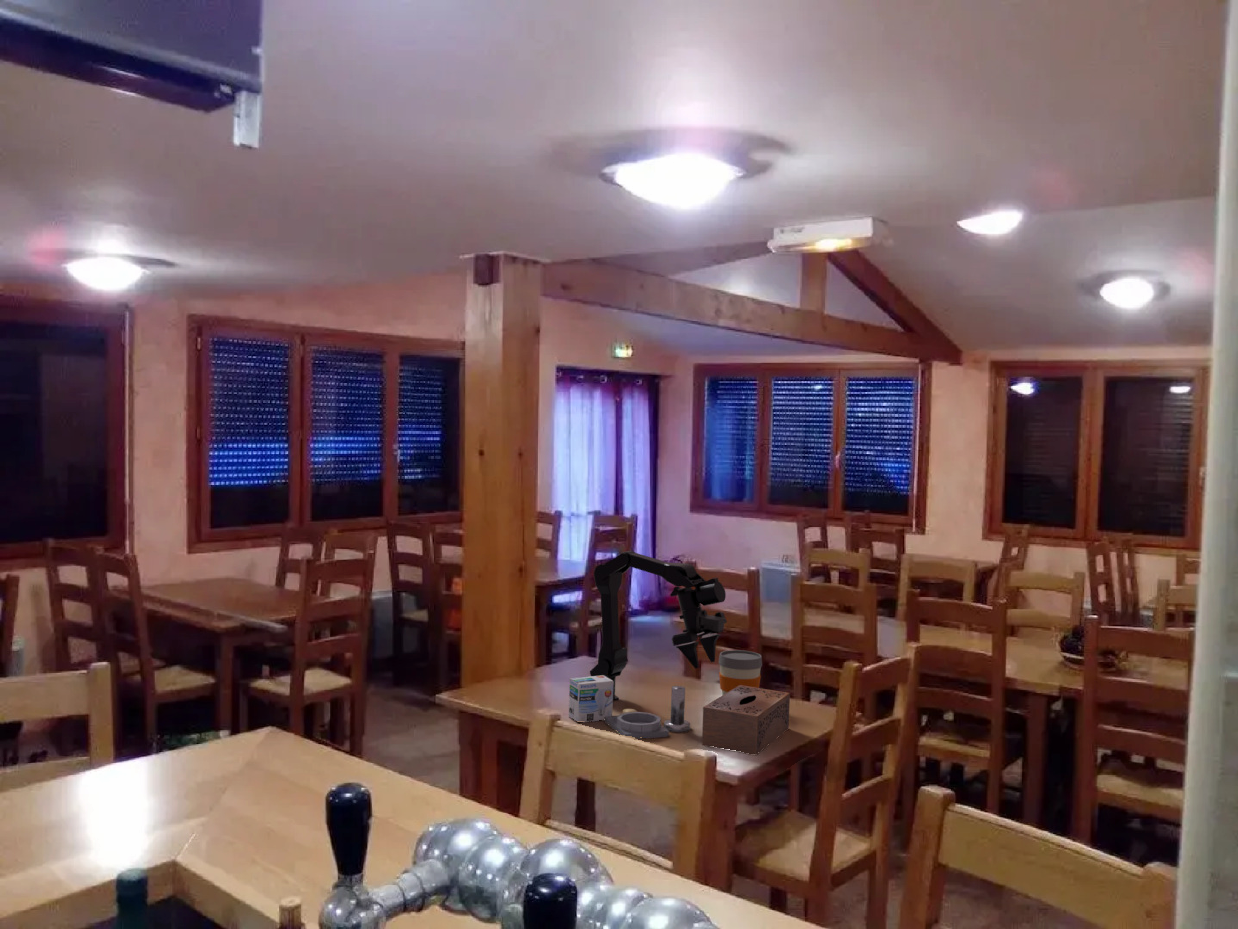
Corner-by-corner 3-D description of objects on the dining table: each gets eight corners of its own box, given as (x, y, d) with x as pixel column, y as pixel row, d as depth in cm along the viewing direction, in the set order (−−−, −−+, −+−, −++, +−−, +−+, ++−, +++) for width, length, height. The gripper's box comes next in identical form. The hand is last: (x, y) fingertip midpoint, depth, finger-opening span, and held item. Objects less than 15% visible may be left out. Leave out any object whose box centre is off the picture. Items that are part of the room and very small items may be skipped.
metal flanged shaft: (659, 725, 271) (661, 685, 270) (683, 723, 273) (685, 683, 273) (670, 733, 264) (671, 692, 264) (694, 731, 267) (695, 690, 266)
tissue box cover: (738, 721, 278) (739, 685, 278) (788, 729, 272) (789, 693, 271) (701, 746, 256) (703, 707, 255) (755, 756, 249) (757, 716, 249)
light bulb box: (577, 723, 270) (579, 684, 270) (567, 717, 276) (568, 678, 276) (613, 719, 275) (614, 680, 275) (602, 712, 281) (603, 674, 280)
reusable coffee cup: (708, 705, 292) (710, 654, 291) (734, 697, 301) (735, 648, 300) (743, 715, 283) (745, 662, 282) (769, 706, 292) (771, 655, 292)
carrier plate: (604, 722, 272) (604, 709, 272) (645, 718, 276) (646, 706, 276) (625, 740, 257) (625, 726, 257) (668, 736, 261) (669, 723, 261)
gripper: (699, 608, 267) (713, 666, 265) (731, 599, 283) (745, 654, 280) (664, 616, 273) (678, 673, 271) (698, 606, 289) (711, 660, 286)
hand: (705, 665), depth 277 cm, fingers open, 9 cm apart
